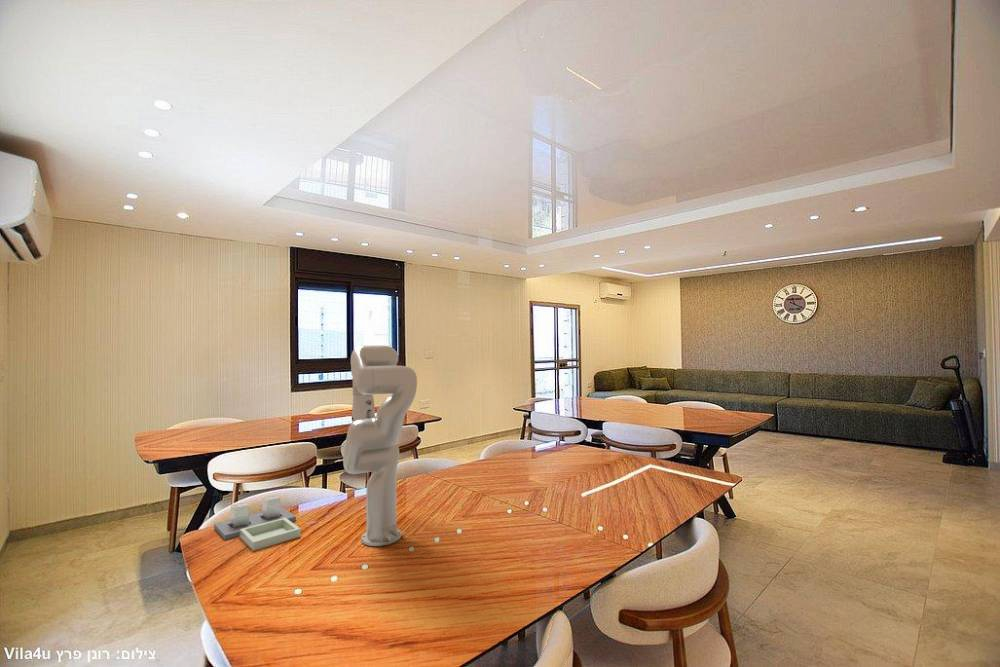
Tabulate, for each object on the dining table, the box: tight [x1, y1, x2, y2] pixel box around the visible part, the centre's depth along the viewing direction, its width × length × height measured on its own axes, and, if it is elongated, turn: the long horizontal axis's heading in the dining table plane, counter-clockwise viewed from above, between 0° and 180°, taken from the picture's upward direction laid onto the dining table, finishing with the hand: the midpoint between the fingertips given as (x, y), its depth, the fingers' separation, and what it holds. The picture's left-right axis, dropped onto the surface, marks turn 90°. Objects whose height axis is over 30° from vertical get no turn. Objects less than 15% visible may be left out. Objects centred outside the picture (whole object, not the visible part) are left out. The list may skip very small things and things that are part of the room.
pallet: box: [213, 506, 297, 541], centre depth 153 cm, size 14×22×2 cm, turn 135°
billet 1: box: [230, 501, 250, 529], centre depth 149 cm, size 4×4×9 cm
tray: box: [239, 518, 302, 552], centre depth 142 cm, size 14×14×4 cm
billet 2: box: [262, 494, 281, 520], centre depth 156 cm, size 4×4×9 cm
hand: (362, 435), depth 170 cm, fingers open, 9 cm apart
